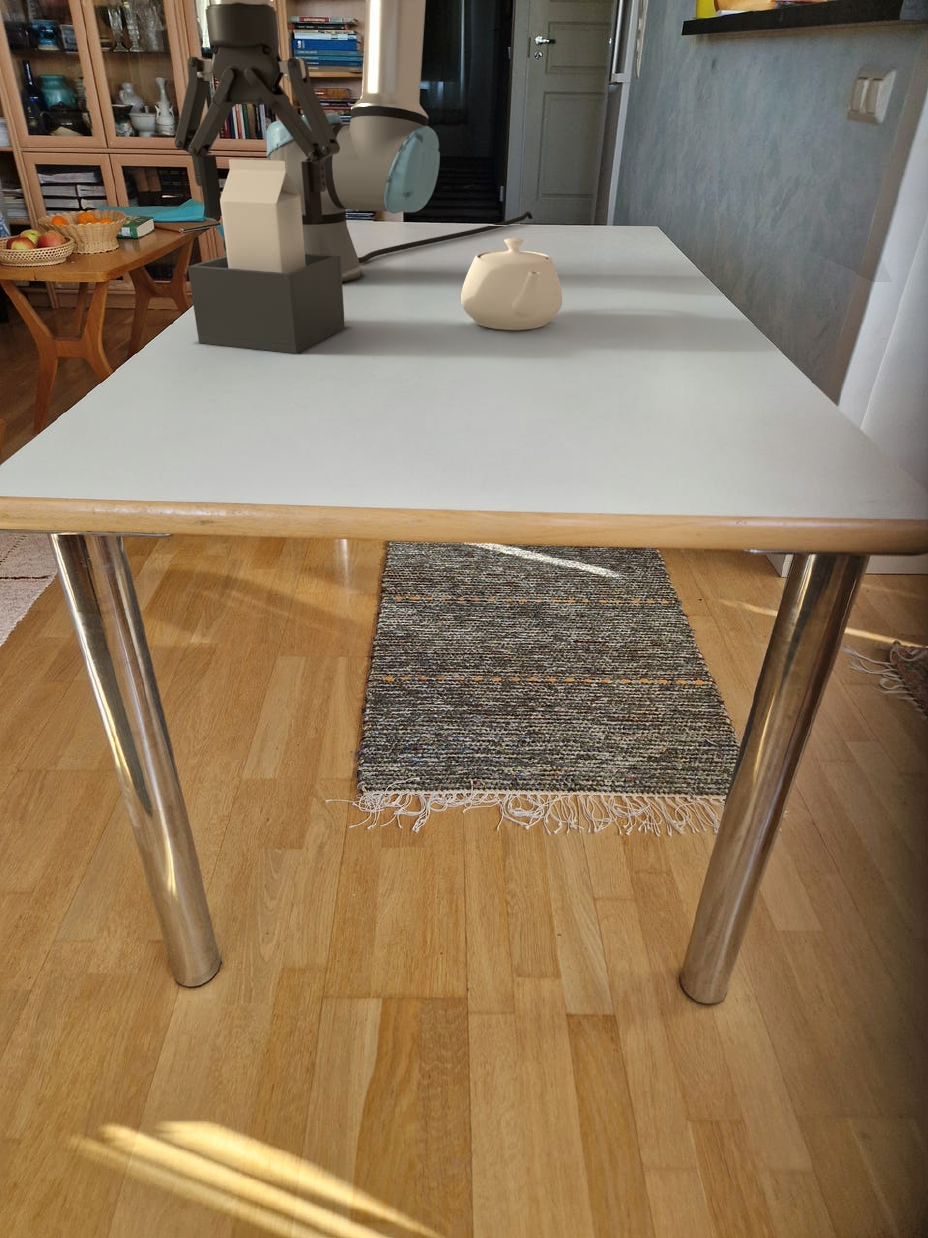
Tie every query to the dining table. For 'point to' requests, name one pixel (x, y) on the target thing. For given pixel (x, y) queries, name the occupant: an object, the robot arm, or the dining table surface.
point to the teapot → (512, 289)
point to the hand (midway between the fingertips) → (263, 219)
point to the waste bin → (268, 304)
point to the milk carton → (262, 217)
